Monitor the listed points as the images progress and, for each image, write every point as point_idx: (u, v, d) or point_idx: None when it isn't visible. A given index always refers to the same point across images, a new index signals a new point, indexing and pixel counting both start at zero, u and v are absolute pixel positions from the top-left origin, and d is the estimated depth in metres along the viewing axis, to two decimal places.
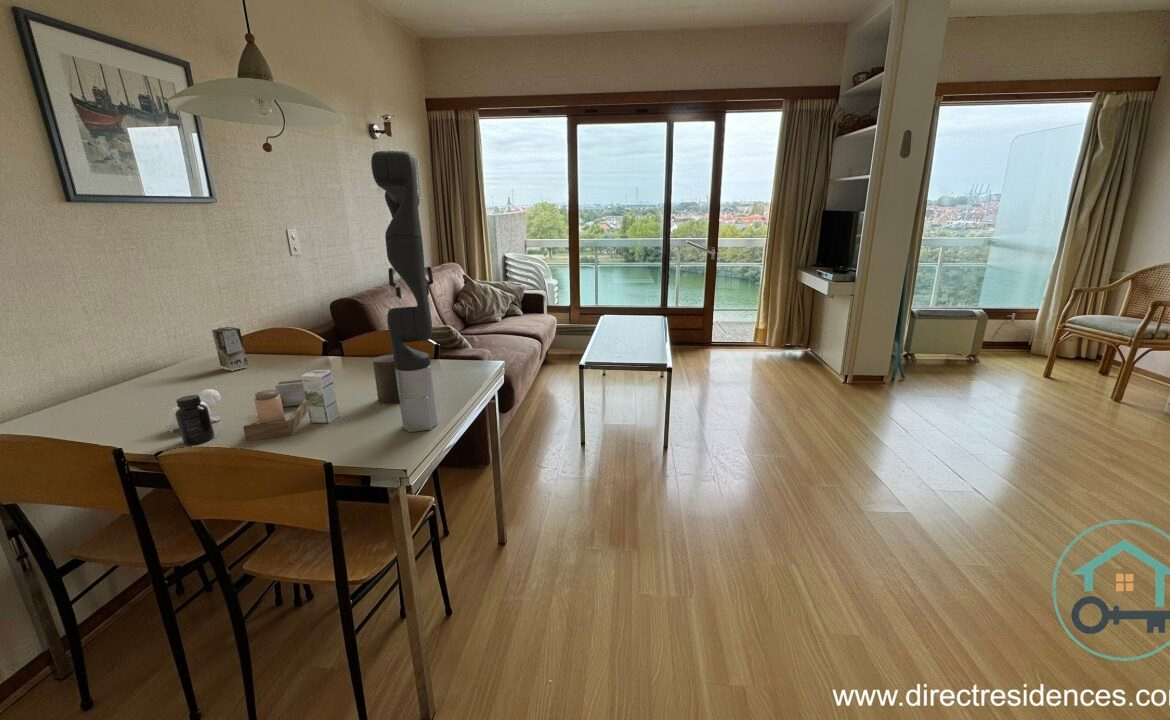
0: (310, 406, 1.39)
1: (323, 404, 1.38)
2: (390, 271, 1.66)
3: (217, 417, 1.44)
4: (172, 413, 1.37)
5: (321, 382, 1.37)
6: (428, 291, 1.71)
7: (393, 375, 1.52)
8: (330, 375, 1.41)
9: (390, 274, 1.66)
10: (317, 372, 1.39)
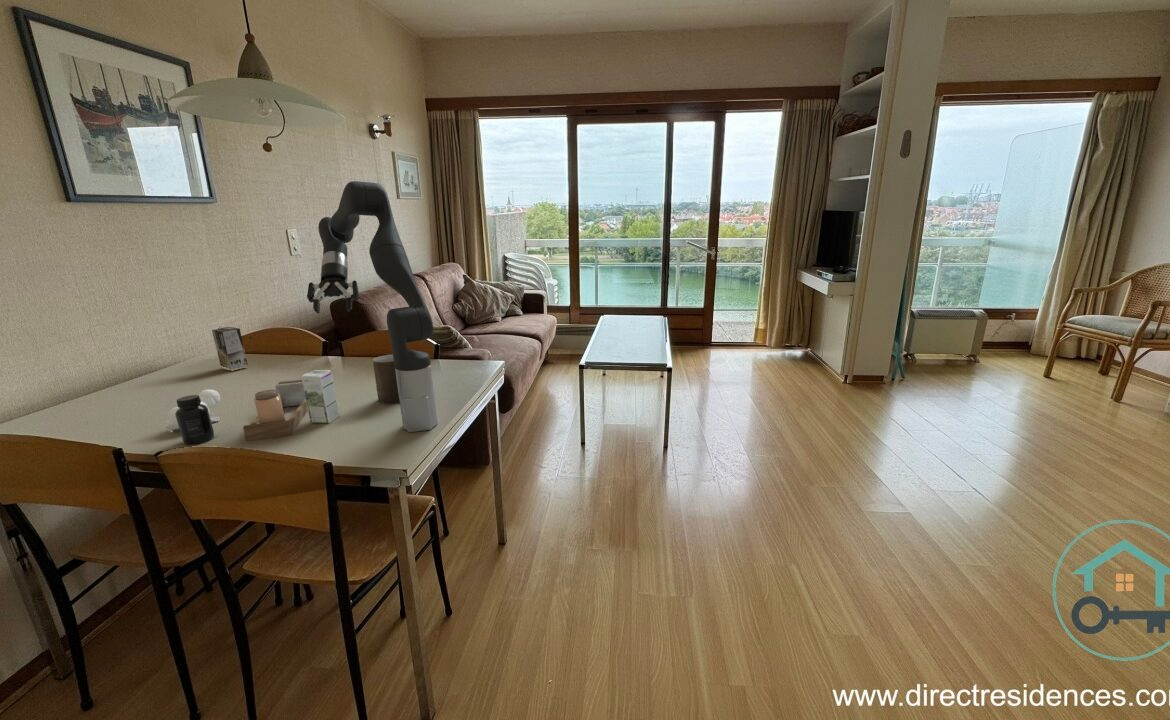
0: (310, 406, 1.39)
1: (323, 404, 1.38)
2: (310, 285, 1.52)
3: (217, 417, 1.43)
4: (171, 413, 1.36)
5: (321, 382, 1.37)
6: (350, 303, 1.52)
7: (393, 375, 1.52)
8: (330, 375, 1.41)
9: (310, 287, 1.52)
10: (317, 372, 1.39)
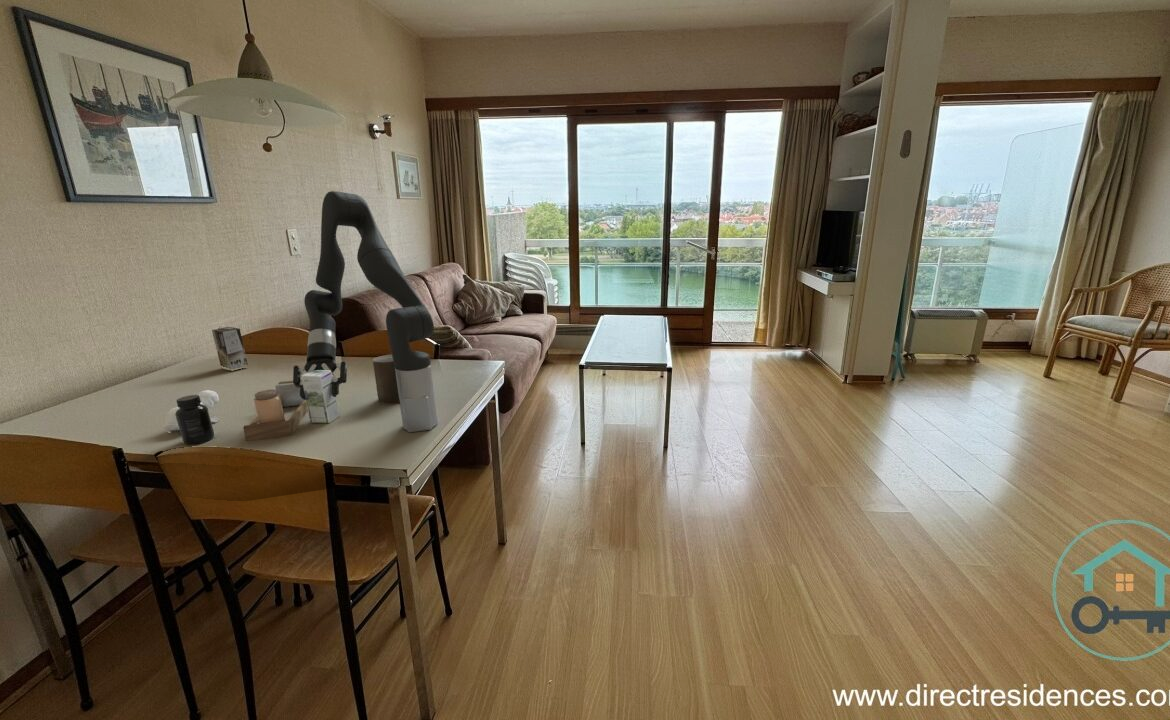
0: (310, 406, 1.39)
1: (323, 404, 1.38)
2: (295, 368, 1.41)
3: (215, 418, 1.43)
4: (170, 414, 1.36)
5: (321, 382, 1.37)
6: (337, 388, 1.41)
7: (393, 375, 1.52)
8: (330, 375, 1.41)
9: (295, 371, 1.41)
10: (317, 372, 1.39)
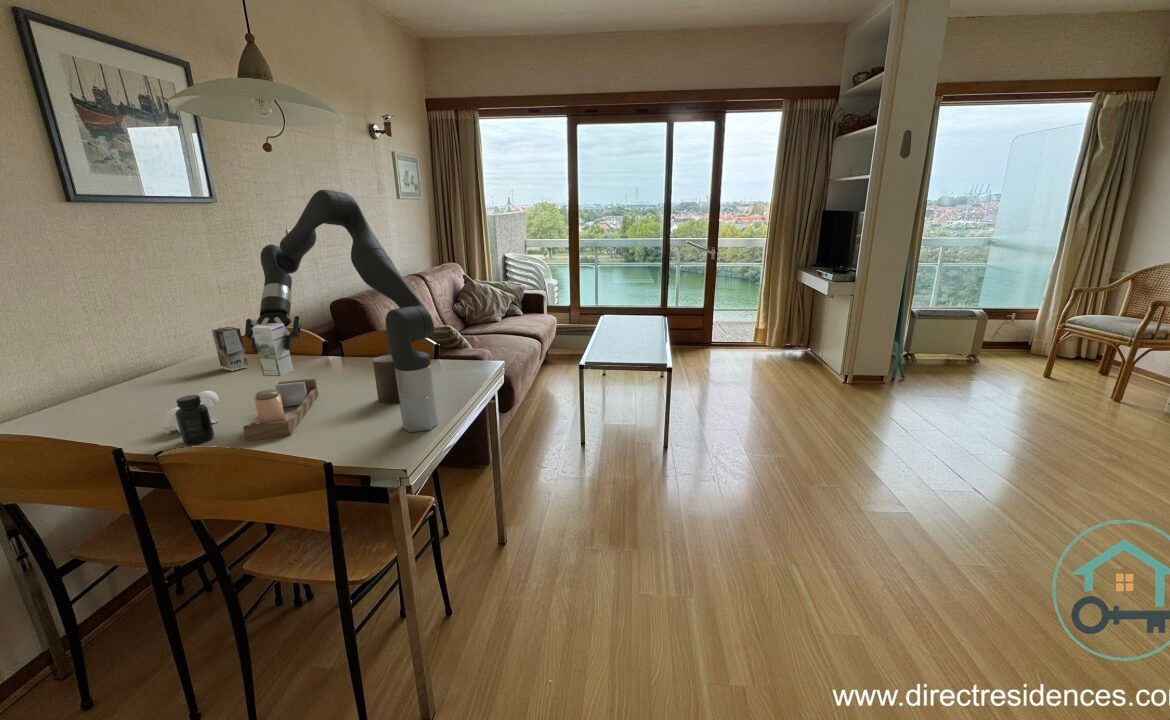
0: (262, 358, 1.39)
1: (275, 356, 1.39)
2: (248, 321, 1.41)
3: (214, 419, 1.42)
4: (169, 415, 1.35)
5: (272, 334, 1.37)
6: (289, 341, 1.41)
7: (393, 375, 1.52)
8: (282, 328, 1.41)
9: (247, 324, 1.41)
10: (269, 324, 1.39)
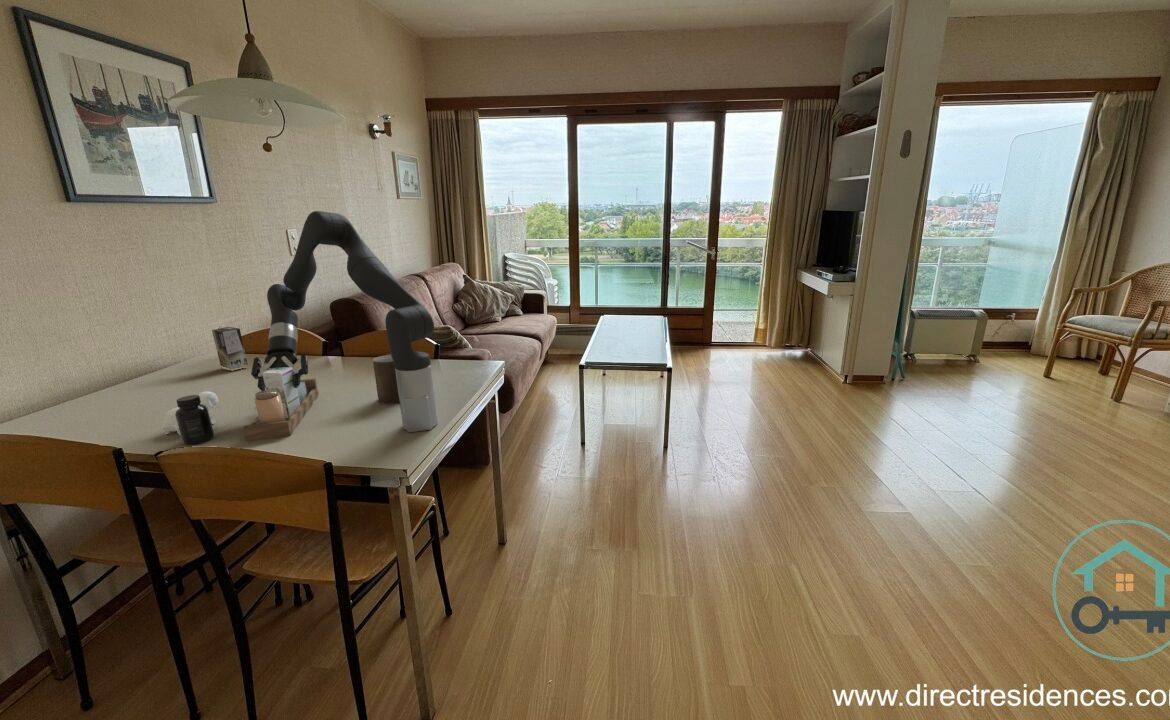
0: None
1: (285, 400, 1.42)
2: (255, 360, 1.44)
3: (214, 419, 1.42)
4: (168, 415, 1.35)
5: (282, 378, 1.41)
6: (298, 379, 1.44)
7: (393, 375, 1.52)
8: (292, 372, 1.45)
9: (255, 363, 1.44)
10: (278, 369, 1.43)
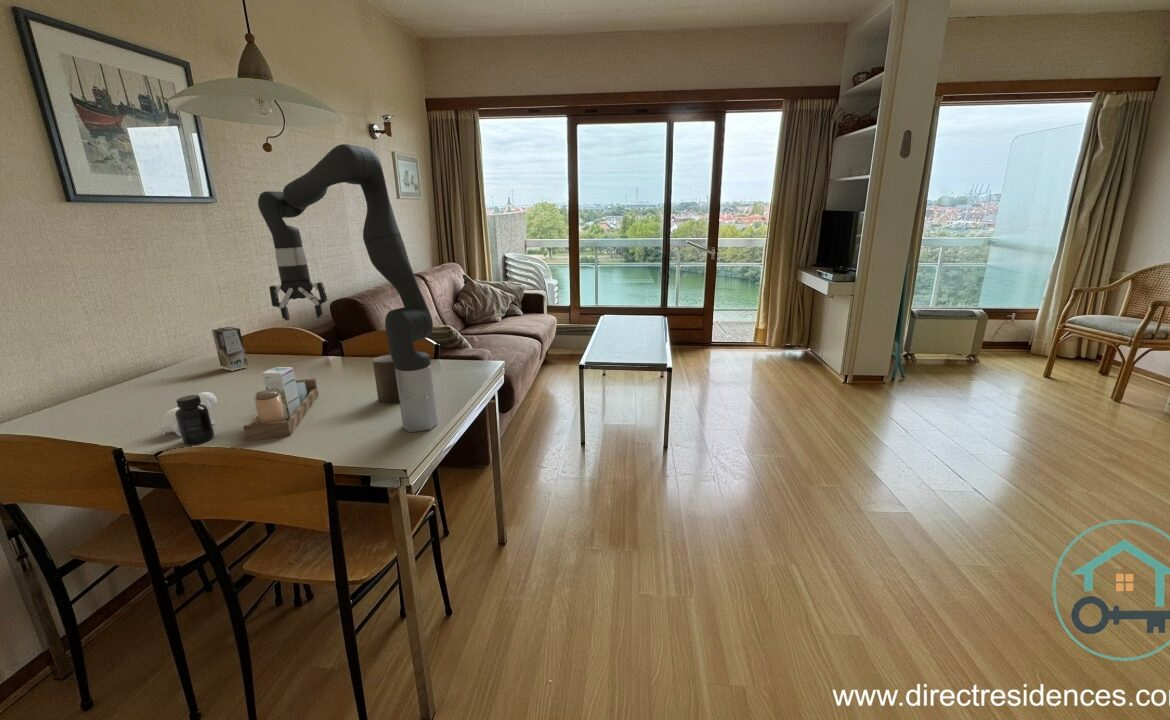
0: None
1: (285, 400, 1.42)
2: (272, 289, 1.42)
3: (212, 420, 1.41)
4: (166, 416, 1.35)
5: (282, 378, 1.41)
6: (321, 311, 1.48)
7: (393, 375, 1.52)
8: (291, 372, 1.45)
9: (272, 293, 1.43)
10: (278, 369, 1.43)
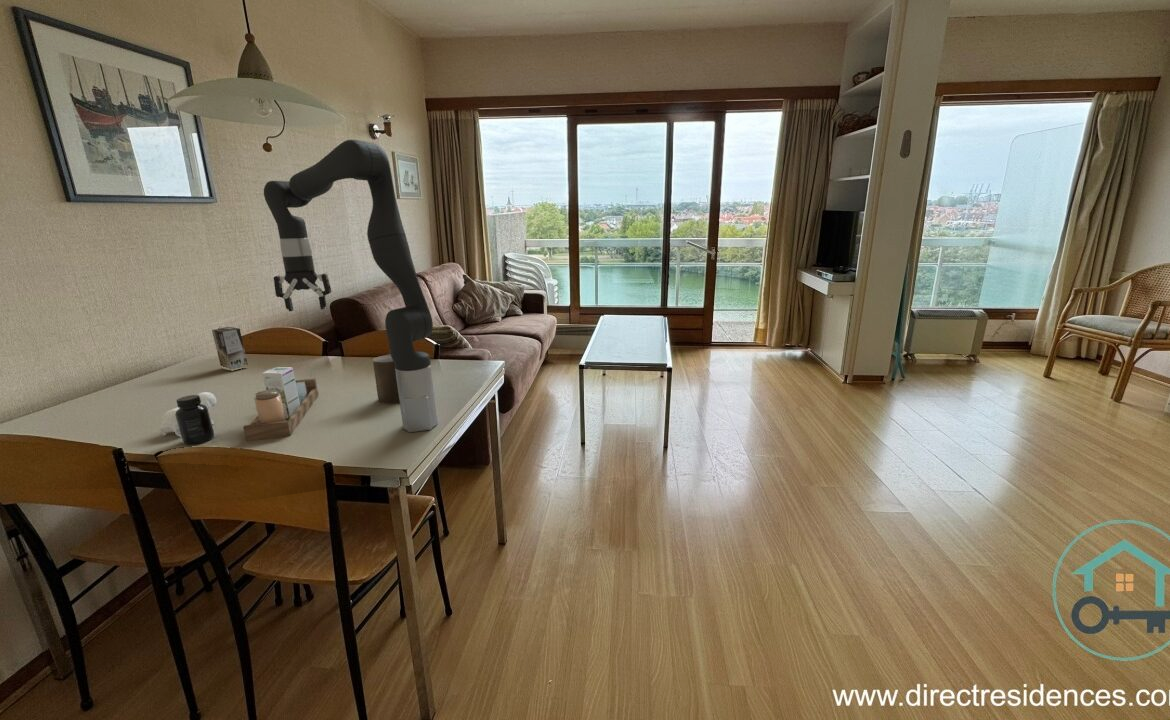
0: None
1: (285, 400, 1.42)
2: (276, 280, 1.41)
3: (212, 420, 1.41)
4: (165, 416, 1.34)
5: (282, 378, 1.41)
6: (324, 302, 1.47)
7: (393, 375, 1.52)
8: (291, 372, 1.45)
9: (276, 283, 1.42)
10: (278, 369, 1.43)
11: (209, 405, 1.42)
